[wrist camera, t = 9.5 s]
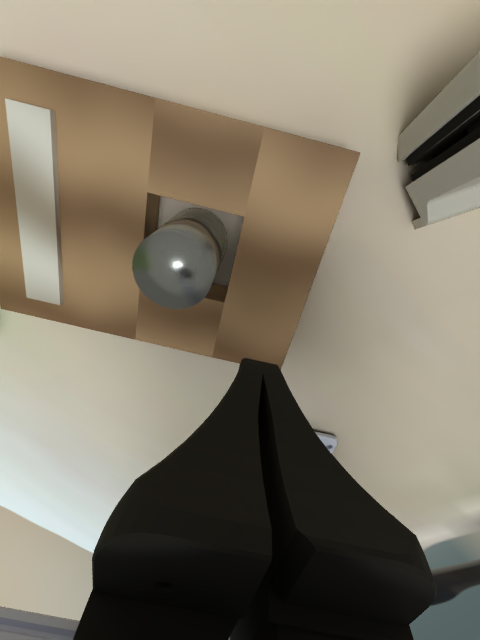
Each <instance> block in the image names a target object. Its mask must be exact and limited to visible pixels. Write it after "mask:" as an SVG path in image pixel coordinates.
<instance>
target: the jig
mask: <svg viewBox="0 0 480 640" xmlns="http://www.w3.org/2000/svg"><path fill="white" fill-rule="evenodd" d="M359 155H360V152H356V151H352V150H349V149H345V148H341V147H337V146H334V145H330V144H326V143H322V142H319V141H315V140H311V139H307V138H304V137H300V136H296V135H292V134H289V133H285V132H281V131H277V130H274V129H270V128H266V127H262V126H259V125H255V124H251V123H247V122H244V121H240V120H236V119H232V118H229V117H225V116H221V115H217V114H213V113H210V112H206V111H202V110H198V109H195V108H191V107H187V106H183V105H180V104H176V103H172V102H168V101H165V100H161V99H157V98H153V97H150V96H146V95H142V94H138V93H135V92H131V91H127V90H123V89H120V88H116V87H112V86H108V85H105V84H101V83H97V82H93V81H90V80H86V79H82V78H78V77H75V76H71V75H67V74H63V73H60V72H56V71H52V70H48V69H45V68H41V67H37V66H33V65H30V64H26V63H22V62H18V61H15V60H11V59H7V58H3V57H0V306H1V309H5V310H9V311H14V312H18V313H22V314H27V315H31V316H35V317H40V318H44V319H48V320H53V321H57V322H61V323H66V324H70V325H74V326H79V327H83V328H87V329H92V330H96V331H101V332H105V333H109V334H114V335H118V336H122V337H127V338H131V339H135V340H140V341H144V342H148V343H153V344H157V345H161V346H166V347H170V348H174V349H179V350H183V351H187V352H192V353H196V354H200V355H205V356H209V357H213V358H218V359H222V360H226V361H231V362H235V363H239V364H240V363H241V360H242V359H244V358H249V359H253V360H258V361H262V362H267V363H272V364H276V365H278V367H279V368H280V370H281V367H282V365H283V362H284V359H285V357H286V354H287V351H288V348H289V346H290V343H291V340H292V338H293V335H294V332H295V329H296V327H297V324H298V321H299V318H300V316H301V313H302V310H303V308H304V305H305V302H306V299H307V297H308V294H309V291H310V289H311V286H312V283H313V280H314V278H315V275H316V272H317V270H318V267H319V264H320V261H321V259H322V256H323V253H324V250H325V248H326V245H327V242H328V240H329V237H330V234H331V231H332V229H333V226H334V223H335V221H336V218H337V215H338V212H339V210H340V207H341V204H342V201H343V199H344V196H345V193H346V191H347V188H348V185H349V182H350V180H351V177H352V174H353V172H354V169H355V166H356V163H357V161H358V158H359ZM160 196H164V197H168V198H172V199H176V200H180V201H184V202H188V203H192V204H196V205H200V206H204V207H208V208H212V209H216V210H220V211H224V212H228V213H231V214H235V215H239V216H243V217H244V220H243V224H242V229H241V233H240V237H239V242H238V246H237V250H236V255H235V259H234V264H233V268H232V272H231V277H230V281H229V285H228V287H226V286H222V285H218V284H214V283H212V285H211V287H210V290H209V292H208V294H207V295H206V296H205V298H204V299H203V300H202V301H200V302H199V303H198V304H196V305H194V306H192V307H189V308H185V309H170V308H166V307H163V306H160V305H158V304H156V303H154V302H153V301H151V300H150V299H149V298H147V297H146V296H145V295H144V294H143V292H142V291H141V290H140V289H139V287H138V285H137V283H136V281H135V279H134V275H133V270H132V261H133V256H134V253H135V251H136V249H137V247H138V246H139V244H140V243H141V242H142V241H143V240H144V239H145V238H147V237H148V236H149V235H151V234H152V233H153V232H155V231H156V230H157V224H158V214H159V204H160Z"/></svg>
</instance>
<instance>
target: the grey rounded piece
mask: <svg viewBox="0 0 480 640" xmlns="http://www.w3.org/2000/svg"><path fill="white" fill-rule="evenodd" d="M439 154H440V155H439ZM436 155H439V156H437V157H436V158H434V159H433V160H431V161H430V162H429V163H427V164H426V165H424V166H423V167H422V168H420V169H419V170H417V171H416V172H414V173H413V174H412V175H411V177H412V181H413V182H412V183H410V184H409V185H407V186H406V189H407V191H408V193H409V195H410V197H411V199H412V201H413V203H414V205H415V207H416V209H417V211H418V213H419V215H420V217H421V218H418V219H416V220H414V221H412V223H413V226H414V228H415V229H417V228H421V227H424V226H427V225H430V224H433V223H436V222H438V221H441V220H444V219H447V218H450V217H453V216H456V215H459V214H462V213H465V212H468V211H471V210H474V209H477V208H480V51H479V52H478V53H477V54H476V55H475V57H474V58H473V59H472V60H471V61H470V62H469V63H468V64H467V65H466V66H465V67H464V68H463V69H462V70H461V71H460V72H459V73H458V74H457V75H456V76H455V77H454V79H453V80H452V81H451V82H450V83H449V84H448V85H447V86H446V87H445V88H444V89H443V90H442V91H441V92H440V93H439V94H438V95H437V96H436V97H435V98H434V99H433V100H432V102H431V103H430V104H429V105H428V106H427V107H426V108H425V109H424V110H423V111H422V112H421V113H420V114H419V115H418V116H417V117H416V118H415V119H414V120H413V121H412V122H411V124H410V125H409V126H408V127H407V128H406V129H405V130H404V131H403V132H402V133H401V134H400V135H399V136H398V162H400V161H403V160H405V159H407V162H408V166H410V165H413V164H415V163H418V162H420V161H423V160H426V159H428V158H431V157H433V156H436Z"/></svg>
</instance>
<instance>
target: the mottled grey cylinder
mask: <svg viewBox="0 0 480 640" xmlns="http://www.w3.org/2000/svg"><path fill="white" fill-rule="evenodd" d="M226 246H227V234H226V230H225V228H224V225H223V224H222V222H221V221H220V219H219V218H218V217H217V216H216V215H214V214H213V213H211V212H210V211H208V210H205V209H202V208H189V209H186V210H184V211H182V212H180V213H179V214H177V215H176V216H175V217H173V218H172V219H171V220H169V221H168V222H167V223H165V224H164V225H163V226H161V227H160V228H159V229H157V230H156V231H155V232H153V233H152V234H151V235H149V236H148V237H147V238H145V239H144V240H143V241H142V242H141V243H140V244H139V246H138V247H137V249H136V251H135V253H134V256H133V261H132V270H133V275H134V279H135V281H136V283H137V285H138V287H139V289H140V290H141V291H142V292H143V294H144V295H145V296H146V297H147V298H149V299H150V300H151V301H153V302H154V303H156V304H158V305H160V306H163V307H166V308H170V309H185V308H189V307H192V306H194V305H196V304H198V303H199V302H200V301H202V300H203V299H204V298H205V296H206V295H207V294H208V292H209V290H210V287H211V285H212V282H213V280H214V277H215V275H216V272H217V270H218V267H219V265H220V262H221V260H222V257H223V255H224V252H225V250H226Z"/></svg>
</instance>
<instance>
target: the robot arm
mask: <svg viewBox="0 0 480 640" xmlns="http://www.w3.org/2000/svg"><path fill="white" fill-rule="evenodd" d="M337 443H338V442H337V438H336V437H335V436H333V435H328V434H324V433H319V432H315V431H314V430H313V429H312V427H311V426H310V424H309V422H308V421H307V419H306V418H305V416H304V414H303V413H302V411H301V409H300V408H299V406H298V404H297V402H296V400H295V399H294V397H293V395H292V393H291V391H290V389H289V387H288V385H287V383H286V381H285V379H284V377H283V375H282V373H281V370H280V368H279V367H278V365H276V364H272V363H267V362H262V361H258V360H253V359H249V358H244V359H242V360H241V363H240V367H239V371H238V373H237V376H236V378H235V380H234V381H233V383H232V385H231V386H230V388H229V390H228V391H227V393H226V394H225V396H224V397H223V399H222V400H221V401H220V403H219V404H218V406H217V407H216V408H215V409H214V411H213V412H212V413H211V414H210V416H209V417H208V418H207V419H206V420H205V421H204V422H203V424H202V425H201V426H200V427H199V428H198V429H197V430H196V431H195V432H194V433H193V434H192V435H191V436H190V437H189V438H188V439H187V440H186V441H185V442H183V443H182V444H181V445H180V446H179V447H178V448H176V449H175V450H174V451H173V452H172V453H171V454H169V455H168V456H167V457H166V458H165V459H163V460H162V461H161V462H159V463H158V464H157V465H155V466H154V467H152V468H151V469H150V470H148V471H147V472H145V473H144V474H143V475H141V476H140V477H139V478H137V479H136V480H135V481H134V482H133V484H132V485H131V486H130V488H129V489H128V490H127V492H126V493H125V494H124V496H123V497H122V499H121V500H120V501H119V503H118V504H117V506H116V507H115V509H114V511H113V512H112V514H111V516H110V517H109V519H108V521H107V523H106V525H105V527H104V529H103V531H102V533H101V536H100V538H99V540H98V543H97V545H96V547H95V550H94V554H93V558H92V571H93V590H92V592H91V595H90V597H89V600H88V602H87V605H86V607H85V610H84V612H83V615H82V617H81V620H80V621H77V620H70V619H66V618H60V617H55V616H49V615H44V614H39V613H33V612H27V611H22V610H16V609H11V608H6V607H1V606H0V640H413V636H412V633H411V630H410V626H409V624H410V623H411V622H412V621H414V620H415V619H416V618H417V617H418V616H419V615H420V614H422V612H424V611H425V610H426V609H427V608H428V607H429V606H430V605H431V603H432V602H433V601H434V599H435V597H436V592H437V586H436V584H435V581H434V578H433V576H432V573H431V570H430V568H429V565H428V562H427V560H426V557H425V555H424V552H423V550H422V548H421V546H420V543H419V541H418V539H417V537H416V535H415V534H413V533H412V532H411V531H410V530H409V529H408V528H406V527H405V526H404V525H403V524H402V523H401V522H399V521H398V520H397V519H396V518H395V517H394V516H392V515H391V514H390V513H389V512H388V511H387V510H385V509H384V508H383V507H382V506H381V505H380V504H379V503H378V502H377V501H376V500H375V499H374V498H373V497H372V496H370V495H369V494H368V493H367V492H366V491H365V490H364V489H363V488H362V487H361V486H360V485H359V484H358V483H357V482H356V481H355V480H354V479H353V478H352V476H351V475H350V474H349V473H348V472H347V471H346V470H345V469H344V468H343V467H342V465H341V464H340V463H339V462H338V461H337V460H336V459H335V457H334V456H333V455H332V452H333V451H334V449H335V447H336V445H337Z"/></svg>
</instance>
